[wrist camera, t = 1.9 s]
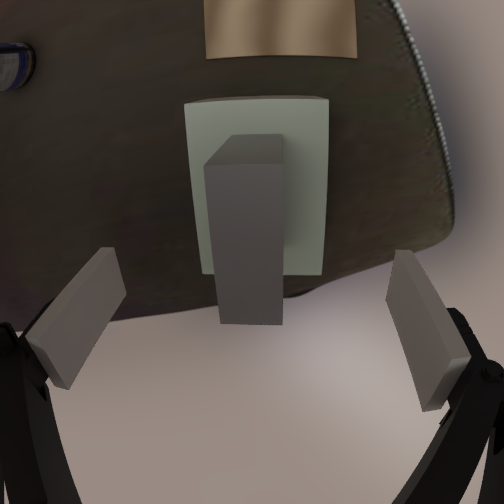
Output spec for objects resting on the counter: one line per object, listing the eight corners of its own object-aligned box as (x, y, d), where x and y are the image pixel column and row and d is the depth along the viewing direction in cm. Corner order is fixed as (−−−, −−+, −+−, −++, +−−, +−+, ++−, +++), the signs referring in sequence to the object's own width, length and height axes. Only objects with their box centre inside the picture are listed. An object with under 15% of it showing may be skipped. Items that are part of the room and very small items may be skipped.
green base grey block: (207, 261, 29) (174, 350, 20) (191, 102, 23) (129, 118, 13) (319, 262, 28) (334, 354, 19) (324, 98, 22) (359, 109, 12)
